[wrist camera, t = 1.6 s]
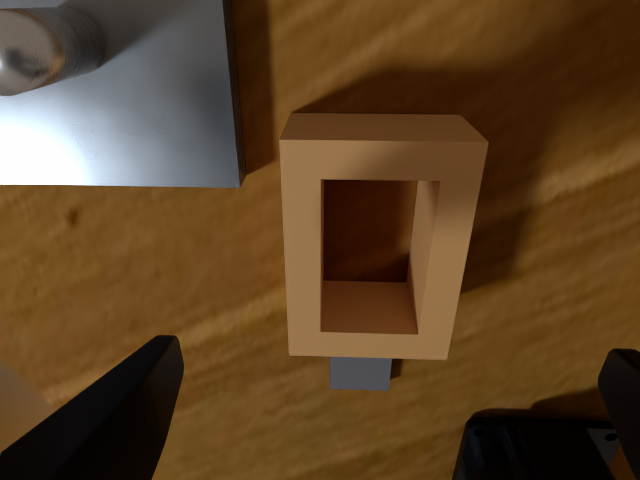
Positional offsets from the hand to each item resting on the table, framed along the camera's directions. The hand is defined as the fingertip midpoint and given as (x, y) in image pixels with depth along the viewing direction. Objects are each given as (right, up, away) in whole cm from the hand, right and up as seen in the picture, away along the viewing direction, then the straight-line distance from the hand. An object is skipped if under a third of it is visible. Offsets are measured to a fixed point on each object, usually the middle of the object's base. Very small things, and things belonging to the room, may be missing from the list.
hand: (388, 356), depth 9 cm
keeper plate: (-8, +8, +3) cm, 12 cm away
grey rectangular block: (0, -2, +8) cm, 8 cm away
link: (0, +3, +5) cm, 6 cm away
